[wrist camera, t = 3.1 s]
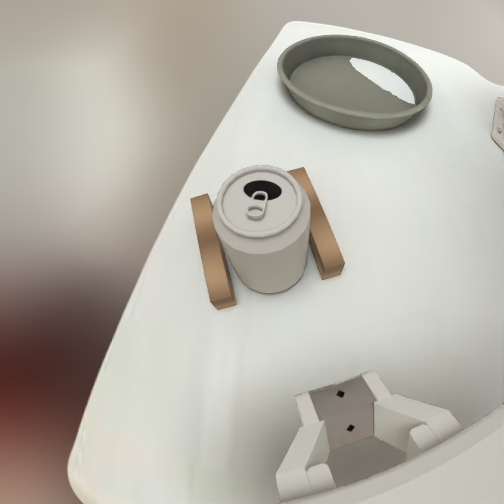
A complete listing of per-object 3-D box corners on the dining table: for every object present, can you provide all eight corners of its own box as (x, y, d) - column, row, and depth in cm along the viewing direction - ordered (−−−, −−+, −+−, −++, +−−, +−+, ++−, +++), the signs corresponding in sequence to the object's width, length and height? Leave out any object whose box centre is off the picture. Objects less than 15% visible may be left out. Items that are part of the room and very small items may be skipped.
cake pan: (425, 160, 36) (435, 138, 32) (256, 118, 43) (253, 94, 39) (424, 72, 45) (429, 54, 41) (301, 45, 51) (300, 26, 47)
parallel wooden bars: (340, 274, 31) (344, 263, 29) (217, 309, 31) (210, 301, 29) (303, 183, 37) (303, 167, 34) (197, 212, 37) (190, 198, 34)
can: (312, 235, 34) (317, 163, 23) (299, 302, 31) (302, 252, 20) (244, 225, 35) (223, 152, 24) (227, 288, 32) (193, 234, 22)
